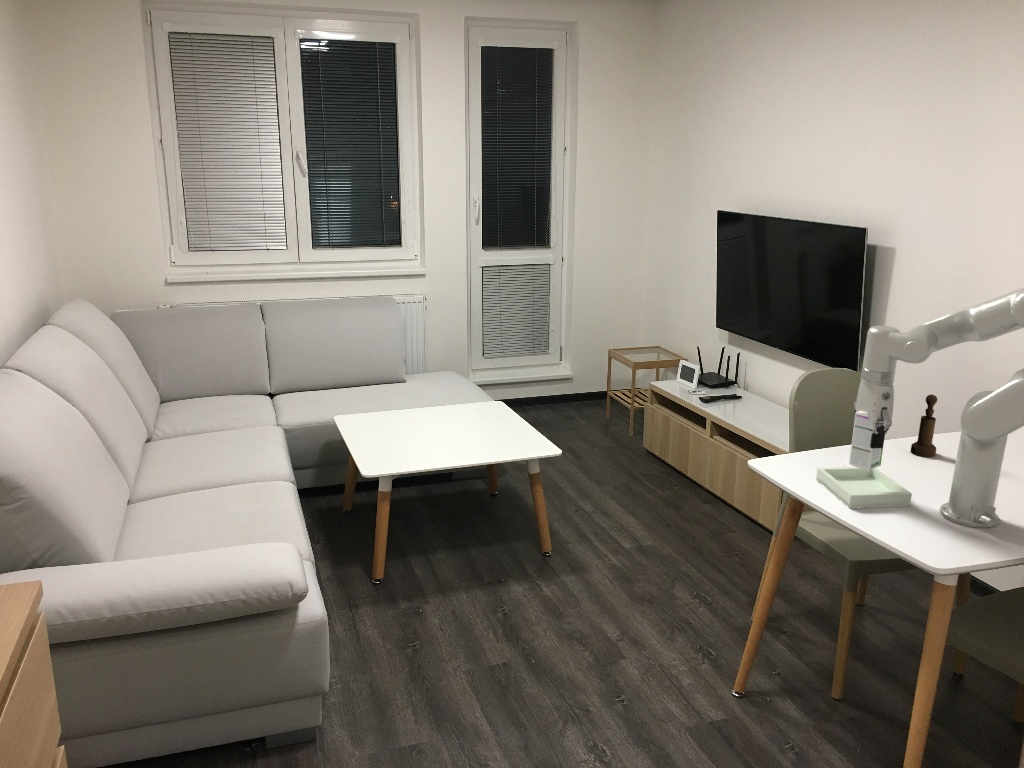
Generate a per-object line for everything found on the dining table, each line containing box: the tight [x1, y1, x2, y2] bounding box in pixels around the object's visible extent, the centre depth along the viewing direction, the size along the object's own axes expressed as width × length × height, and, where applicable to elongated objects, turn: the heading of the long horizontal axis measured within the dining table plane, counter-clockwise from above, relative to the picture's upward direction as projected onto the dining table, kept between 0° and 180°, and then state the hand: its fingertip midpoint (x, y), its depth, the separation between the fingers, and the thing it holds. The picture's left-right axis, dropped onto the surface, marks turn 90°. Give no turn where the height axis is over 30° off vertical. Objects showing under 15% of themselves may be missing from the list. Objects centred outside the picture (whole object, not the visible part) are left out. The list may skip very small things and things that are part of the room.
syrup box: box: [848, 411, 884, 471], centre depth 209 cm, size 6×6×14 cm
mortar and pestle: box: [910, 394, 938, 458], centre depth 239 cm, size 7×6×18 cm
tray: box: [815, 466, 913, 509], centre depth 213 cm, size 18×16×4 cm
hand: (867, 441), depth 210 cm, fingers closed on syrup box, 7 cm apart
